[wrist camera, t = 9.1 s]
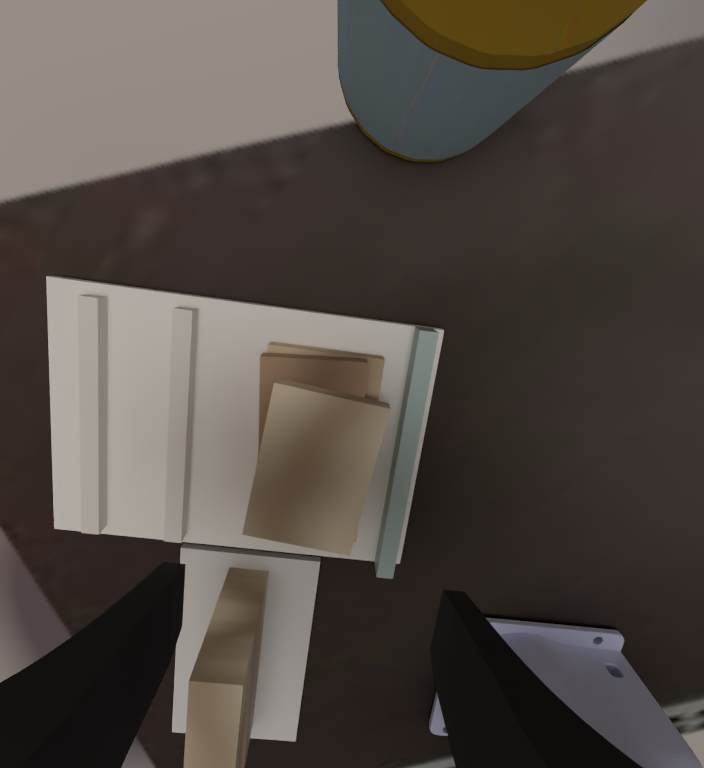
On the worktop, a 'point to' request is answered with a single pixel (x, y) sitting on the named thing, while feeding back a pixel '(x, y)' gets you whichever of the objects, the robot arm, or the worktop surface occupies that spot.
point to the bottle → (458, 64)
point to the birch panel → (227, 675)
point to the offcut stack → (315, 445)
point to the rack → (207, 413)
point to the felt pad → (279, 638)
